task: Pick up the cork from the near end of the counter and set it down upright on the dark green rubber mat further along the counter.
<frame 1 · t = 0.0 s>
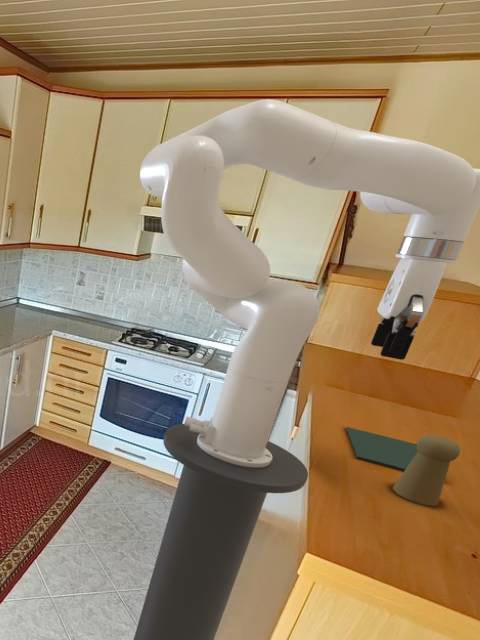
hand: (386, 351, 85), 22 cm above the worktop, tool pointing down, fingers open, 9 cm apart
cork: (414, 496, 84), on the worktop
side mat: (389, 452, 101), on the worktop
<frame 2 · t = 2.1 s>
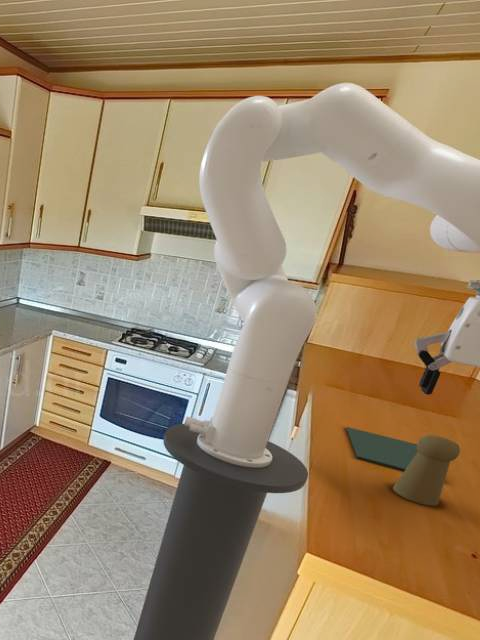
hand: (464, 399, 78), 18 cm above the worktop, tool pointing down, fingers open, 9 cm apart
nothing on the worktop moved.
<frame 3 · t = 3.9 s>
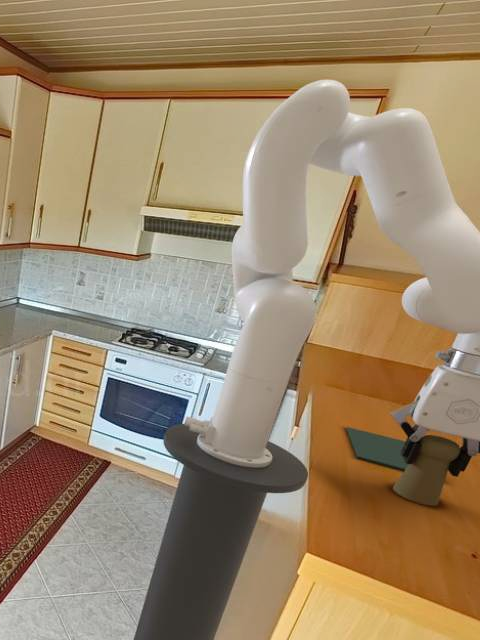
hand: (429, 465, 82), 6 cm above the worktop, tool pointing down, fingers closed on cork, 5 cm apart
cork: (414, 496, 84), on the worktop, touching gripper
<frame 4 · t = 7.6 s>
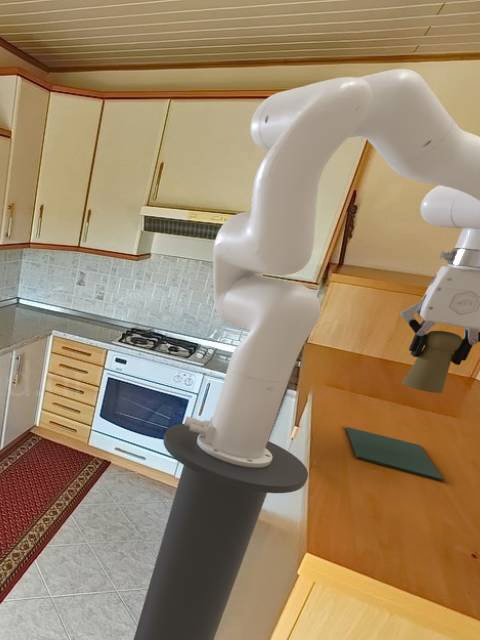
hand: (434, 358, 92), 21 cm above the worktop, tool pointing down, fingers closed on cork, 5 cm apart
cork: (421, 388, 94), point 15 cm above the worktop, touching gripper
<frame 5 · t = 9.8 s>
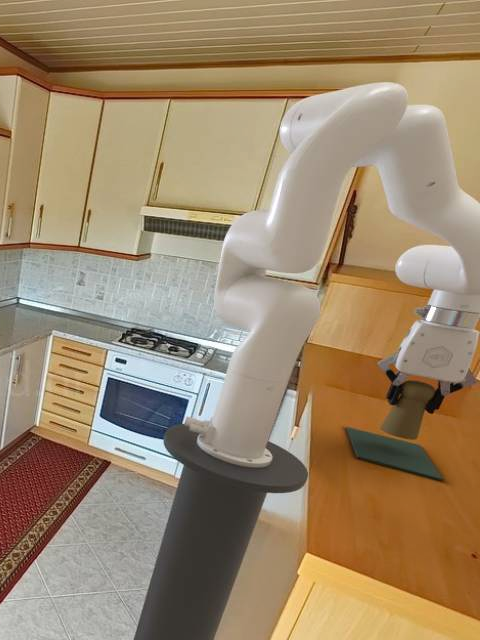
hand: (409, 406, 97), 10 cm above the worktop, tool pointing down, fingers closed on cork, 5 cm apart
cork: (397, 433, 99), point 4 cm above the worktop, touching gripper
when the fingers open (6 cm above the worktop, at t = 11.3 s): cork stays where it is, resting on side mat.
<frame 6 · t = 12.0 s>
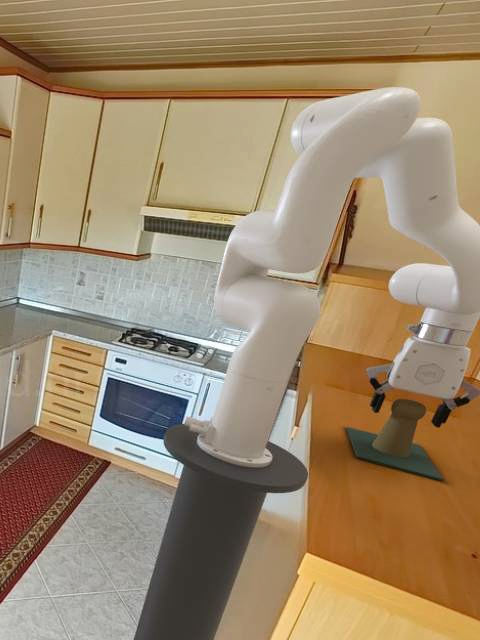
hand: (404, 417, 98), 8 cm above the worktop, tool pointing down, fingers open, 9 cm apart
cork: (389, 451, 101), resting on side mat
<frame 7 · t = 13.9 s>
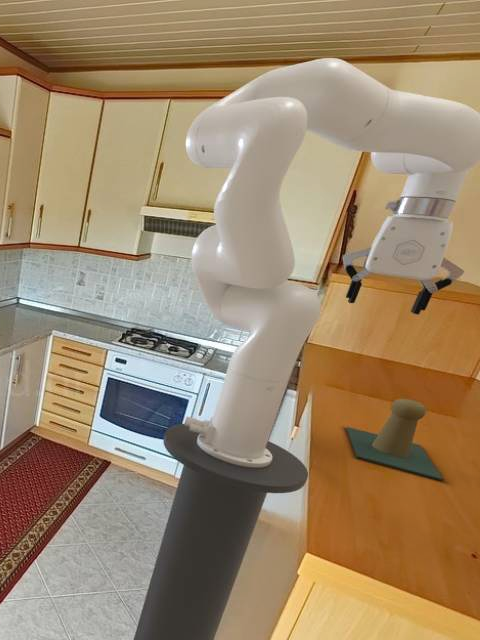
hand: (381, 307, 91), 29 cm above the worktop, tool pointing down, fingers open, 9 cm apart
nothing on the worktop moved.
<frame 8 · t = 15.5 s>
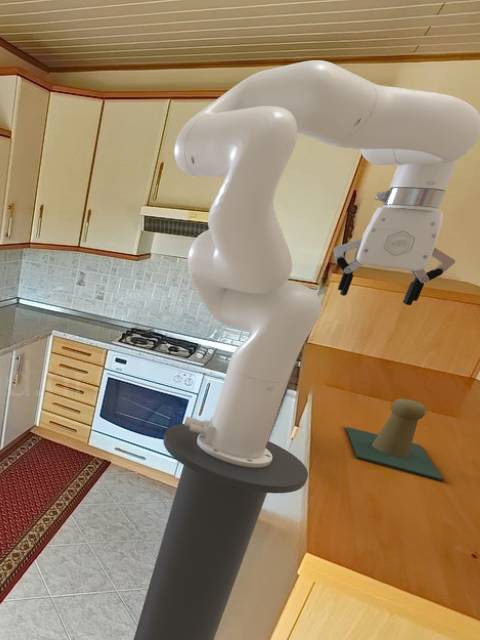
hand: (374, 299, 90), 30 cm above the worktop, tool pointing down, fingers open, 9 cm apart
nothing on the worktop moved.
at the end: cork inside the target area on the side mat (0.0 cm from its centre), point 0.3 cm above the side mat's base; cork tilted 0°; the gripper is holding nothing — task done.
